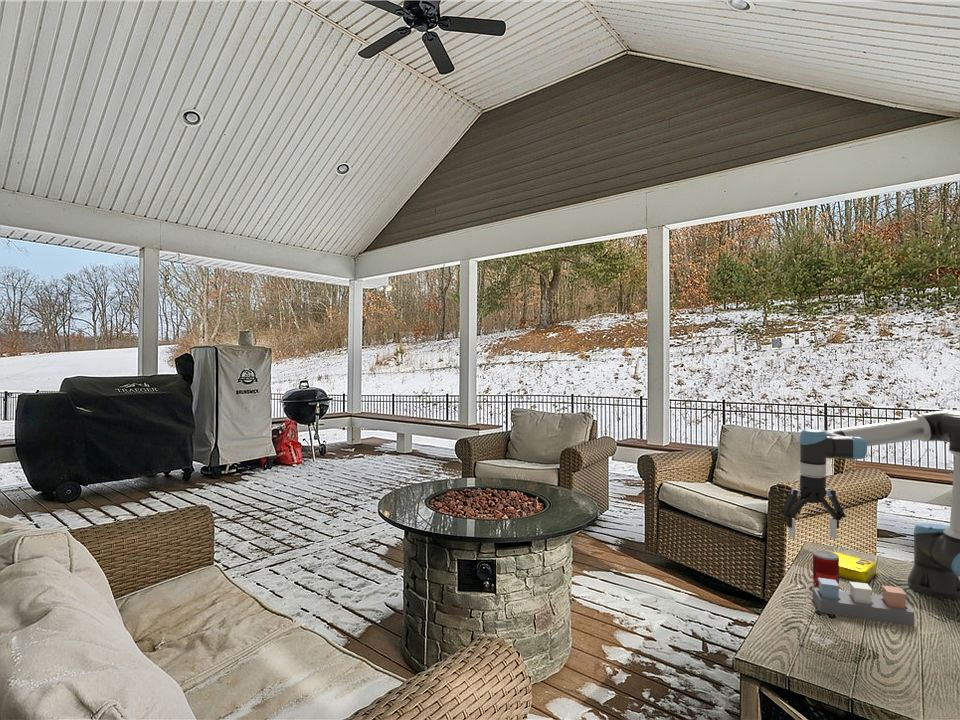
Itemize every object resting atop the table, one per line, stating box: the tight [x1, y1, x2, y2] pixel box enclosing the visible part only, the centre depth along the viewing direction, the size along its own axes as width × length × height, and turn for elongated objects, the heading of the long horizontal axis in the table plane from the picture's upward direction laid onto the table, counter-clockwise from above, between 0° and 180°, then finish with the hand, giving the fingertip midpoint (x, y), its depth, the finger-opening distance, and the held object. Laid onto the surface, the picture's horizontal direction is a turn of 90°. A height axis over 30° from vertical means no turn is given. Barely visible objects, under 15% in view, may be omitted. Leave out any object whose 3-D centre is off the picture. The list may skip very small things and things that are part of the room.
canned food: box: [812, 550, 840, 587], centre depth 193 cm, size 8×8×11 cm
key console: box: [812, 587, 915, 626], centre depth 172 cm, size 25×10×4 cm, turn 70°
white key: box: [848, 580, 874, 604], centre depth 172 cm, size 5×5×5 cm
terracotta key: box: [881, 584, 908, 609], centre depth 169 cm, size 5×5×5 cm
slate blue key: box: [818, 578, 841, 600], centre depth 175 cm, size 5×5×5 cm
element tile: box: [832, 551, 877, 583], centre depth 204 cm, size 15×15×5 cm
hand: (812, 537), depth 181 cm, fingers open, 13 cm apart
